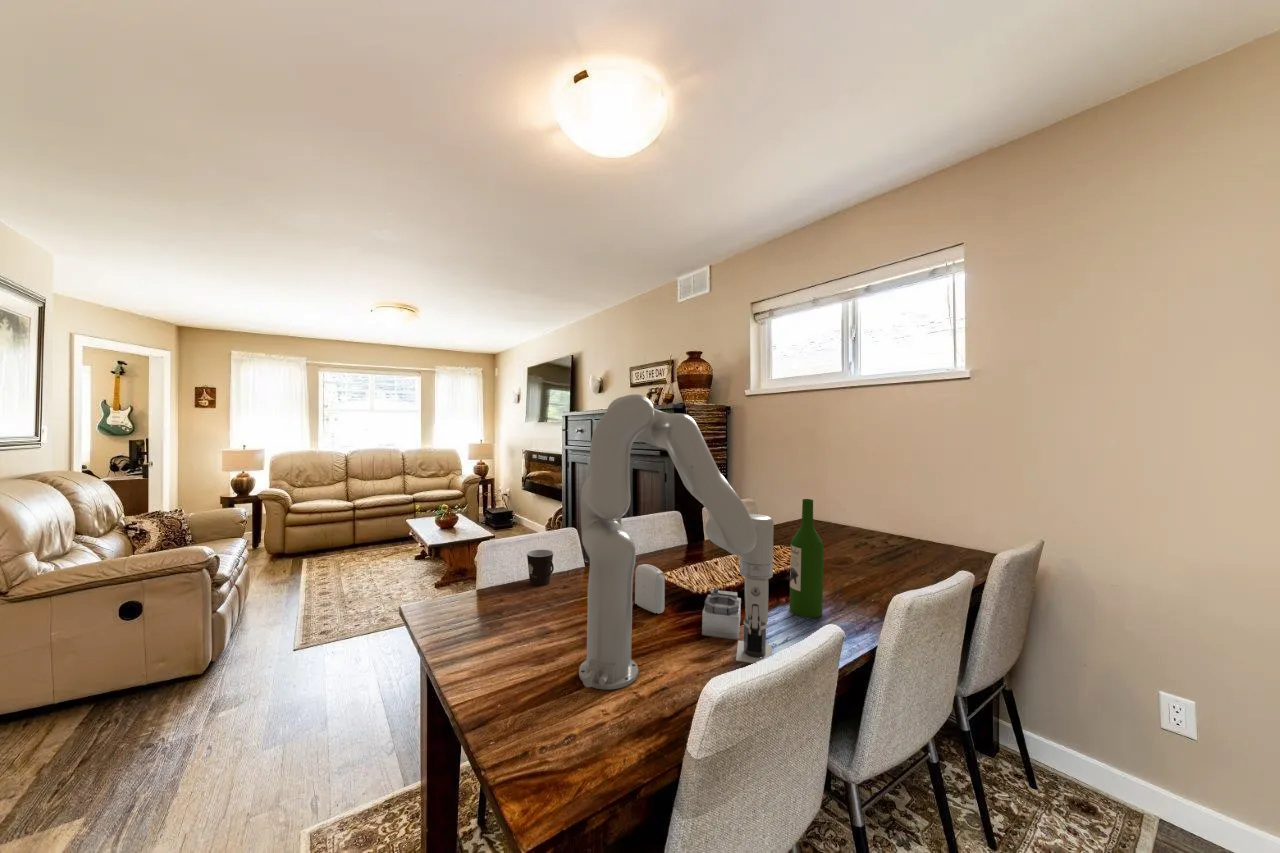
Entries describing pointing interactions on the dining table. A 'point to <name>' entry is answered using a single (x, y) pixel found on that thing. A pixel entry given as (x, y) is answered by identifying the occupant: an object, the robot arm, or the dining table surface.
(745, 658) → the mat
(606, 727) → the dining table surface
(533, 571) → the coffee mug
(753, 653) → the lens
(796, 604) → the wine bottle
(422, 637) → the dining table surface
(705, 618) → the octagonal socket block
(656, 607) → the photo printer
